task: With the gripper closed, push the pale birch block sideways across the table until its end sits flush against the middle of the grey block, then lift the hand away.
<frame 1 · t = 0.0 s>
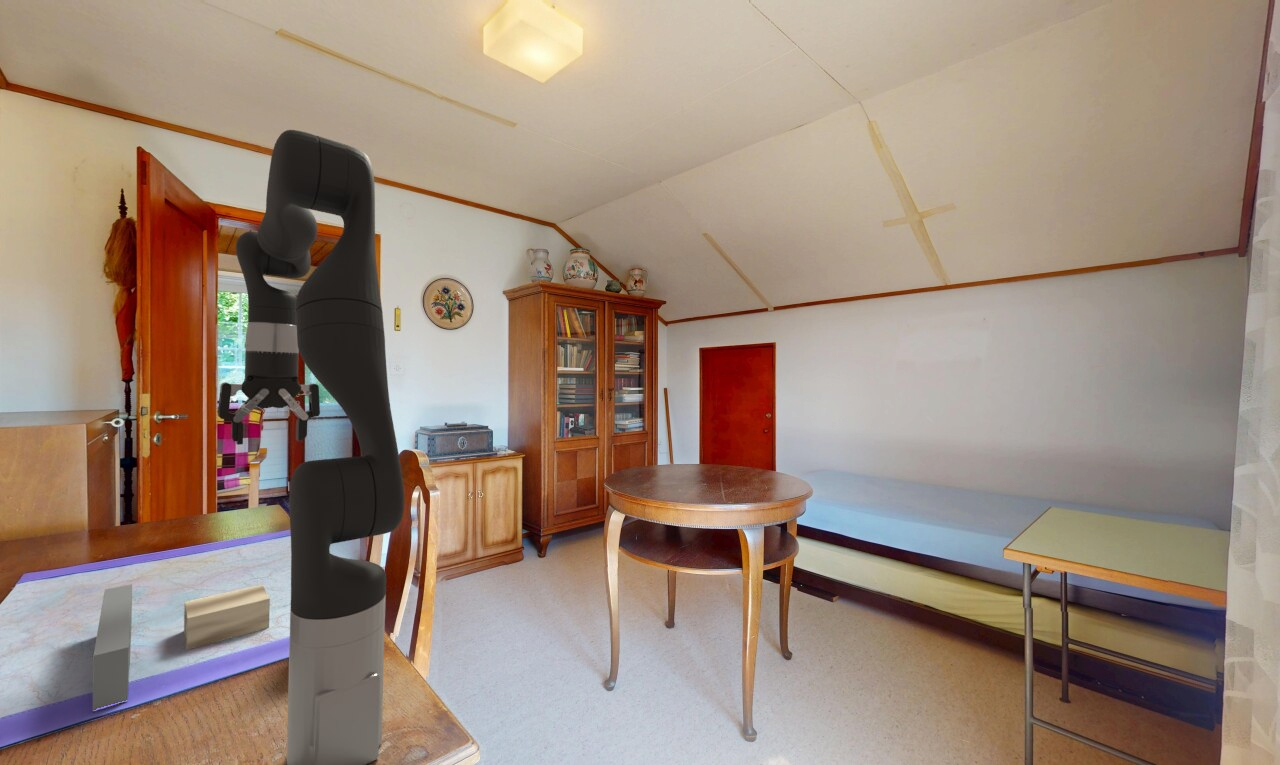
hand: (270, 442, 88), 29 cm above the table, tool pointing down, fingers open, 8 cm apart
birch block: (227, 630, 81), on the table
grey block: (114, 664, 71), on the table
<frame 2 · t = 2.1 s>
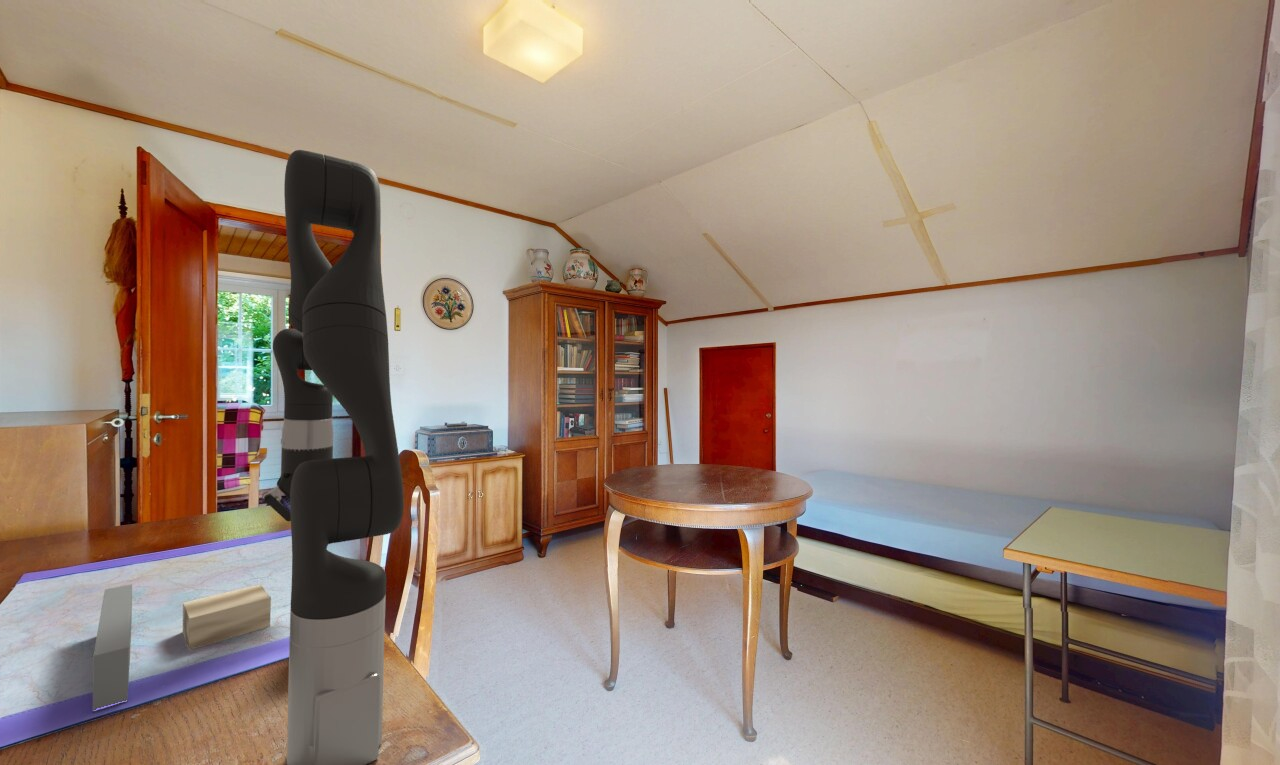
hand: (305, 541, 88), 12 cm above the table, tool pointing down, fingers closed
nothing on the table moved.
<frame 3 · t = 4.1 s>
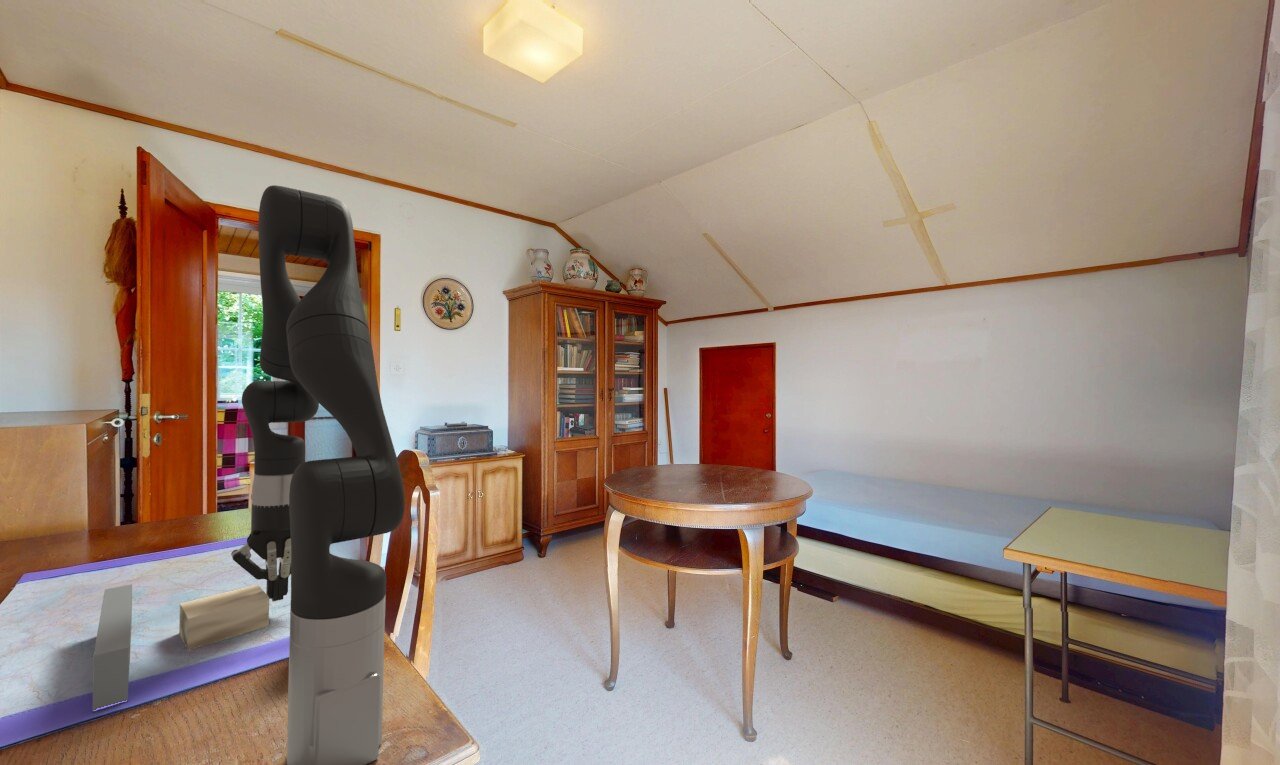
hand: (277, 598, 86), 3 cm above the table, tool pointing down, fingers closed
birch block: (224, 630, 81), on the table, touching gripper
everything else where it was.
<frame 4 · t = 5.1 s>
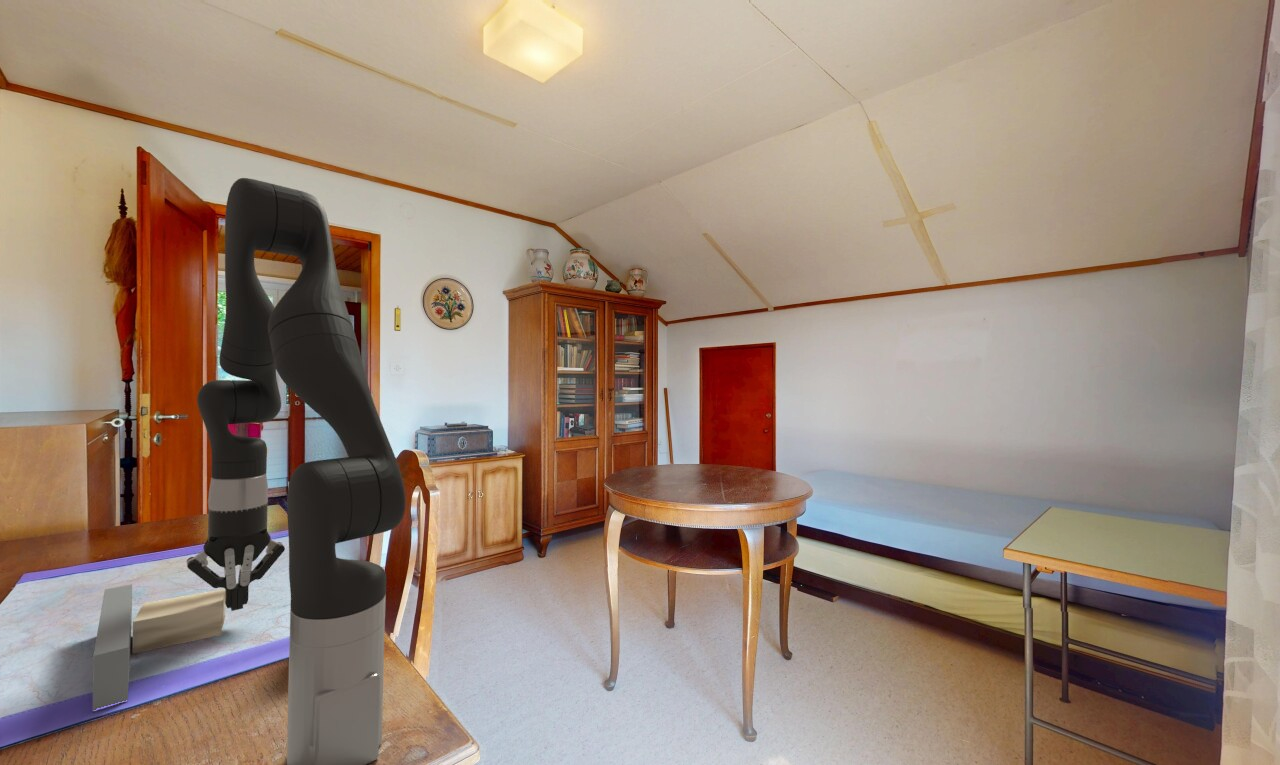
hand: (236, 607, 82), 3 cm above the table, tool pointing down, fingers closed
birch block: (182, 635, 79), on the table, touching gripper
everything else where it was.
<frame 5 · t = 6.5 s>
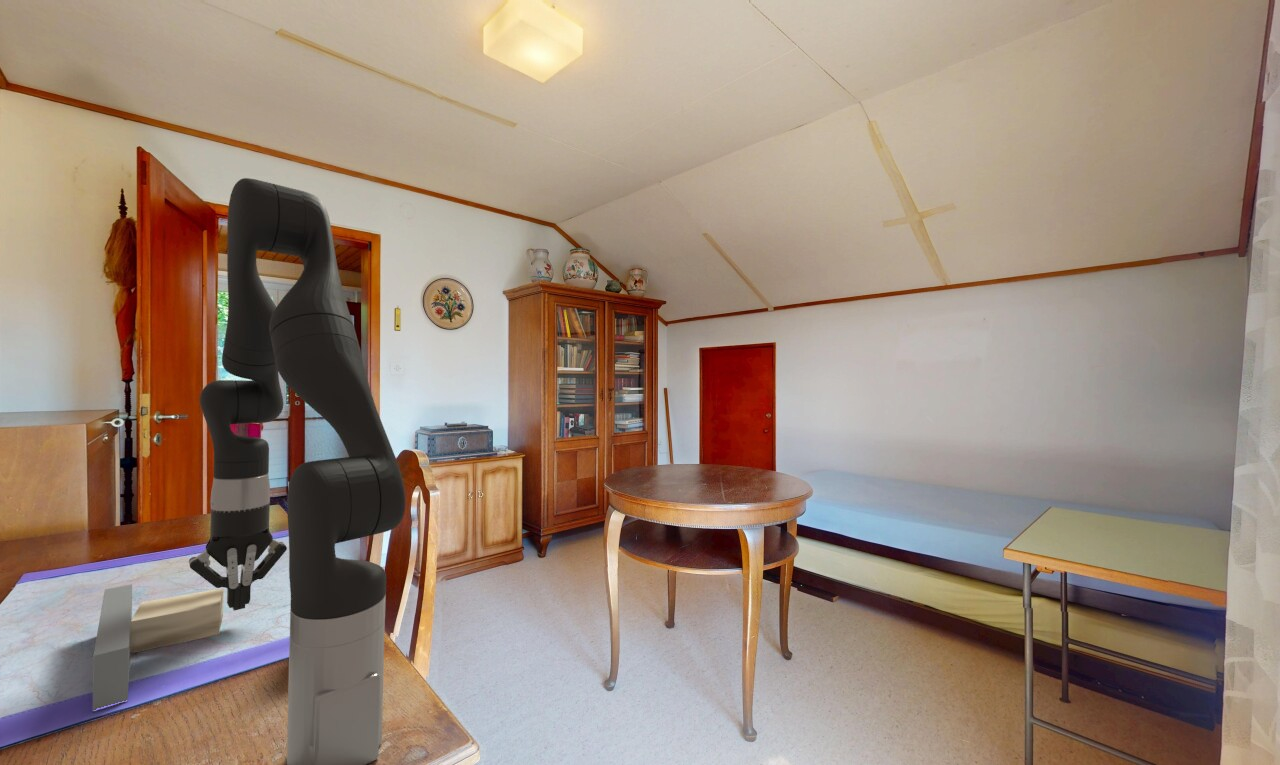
hand: (238, 607, 82), 3 cm above the table, tool pointing down, fingers closed
birch block: (180, 634, 79), on the table
everything else where it was.
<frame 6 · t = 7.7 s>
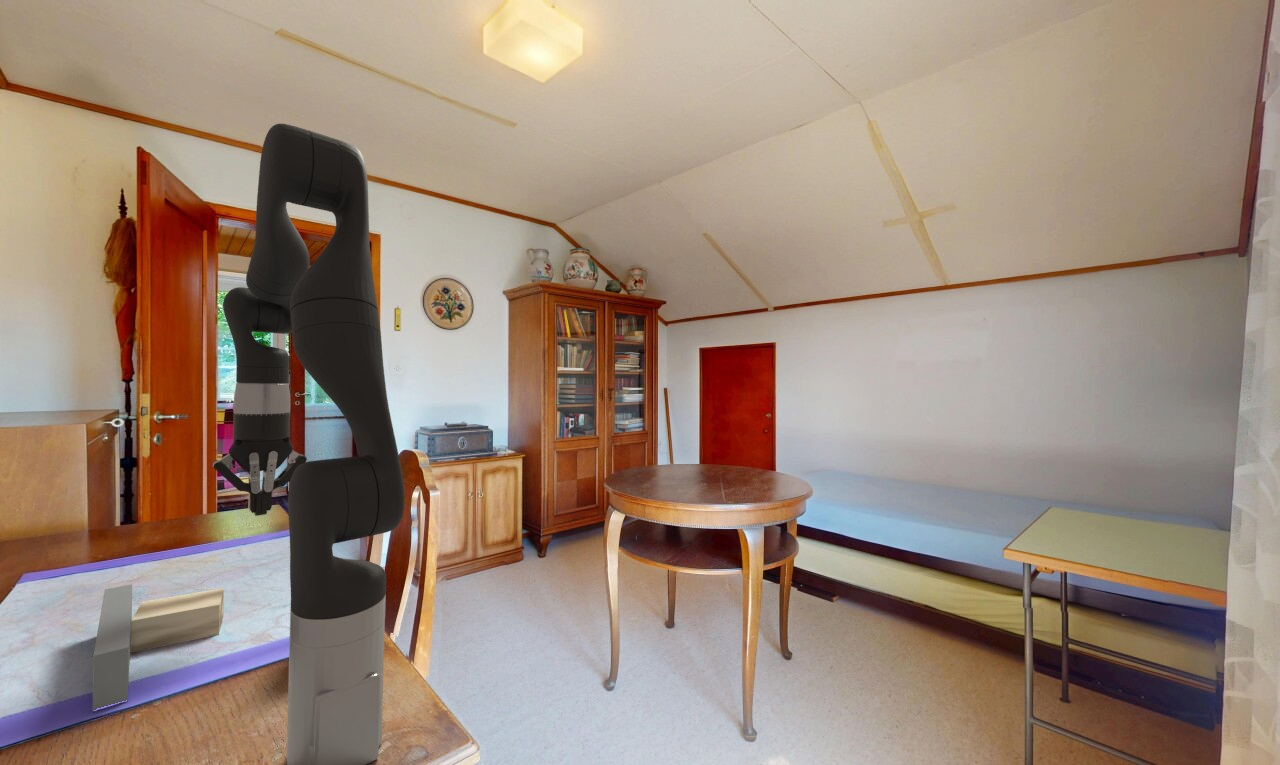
hand: (260, 514, 83), 18 cm above the table, tool pointing down, fingers closed
nothing on the table moved.
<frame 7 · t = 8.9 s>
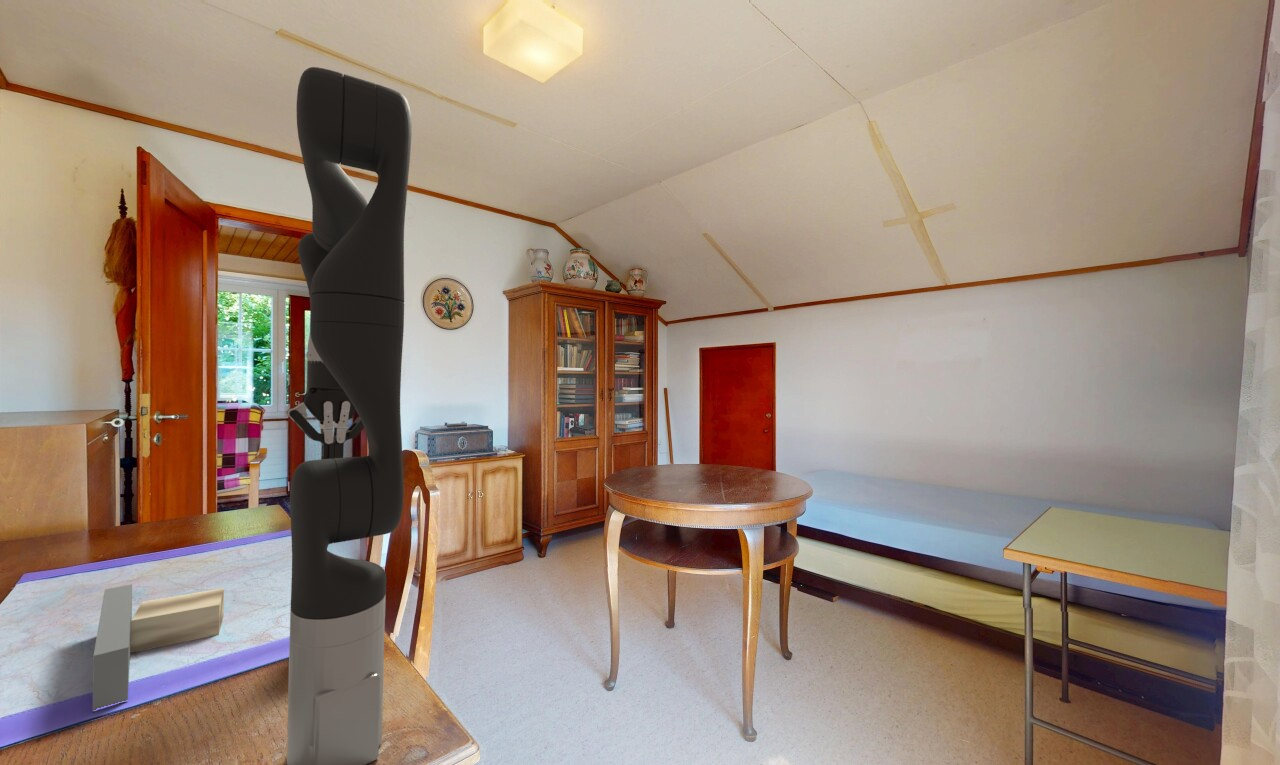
hand: (332, 465, 82), 27 cm above the table, tool pointing down, fingers closed
nothing on the table moved.
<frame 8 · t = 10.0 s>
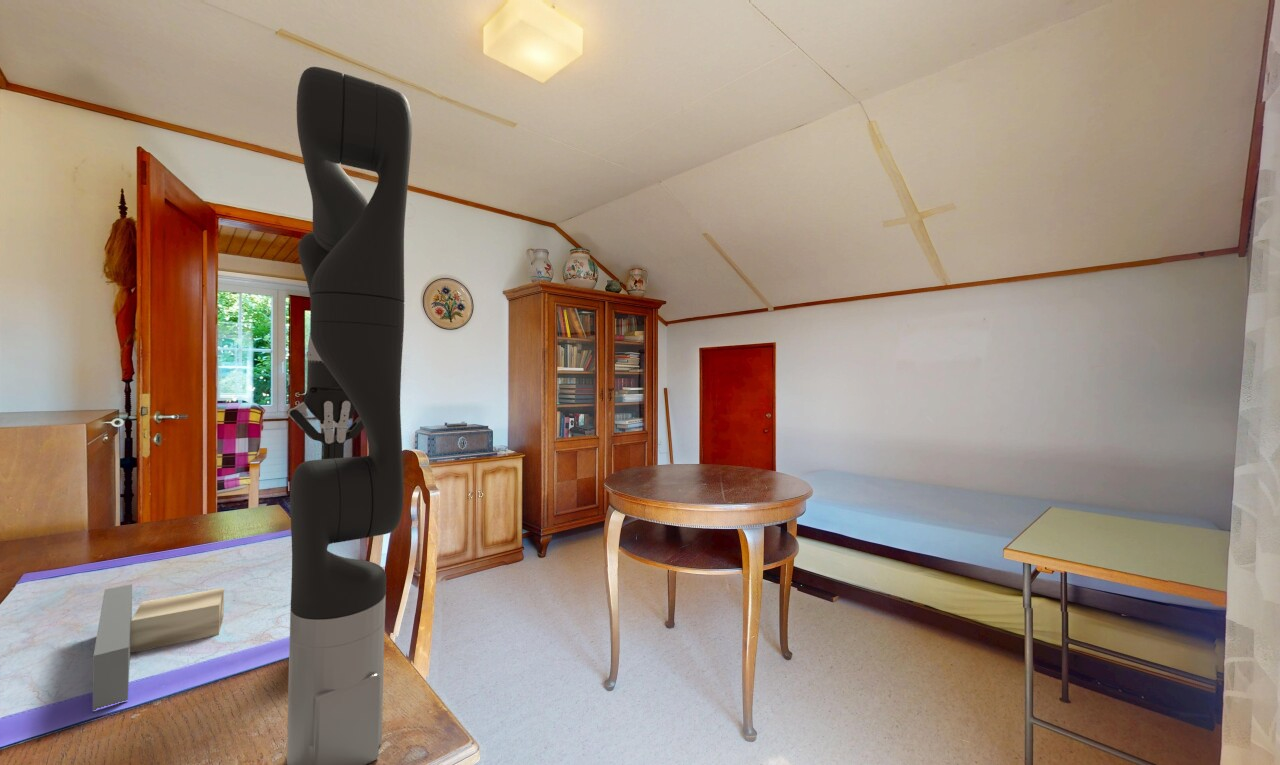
hand: (332, 465, 82), 27 cm above the table, tool pointing down, fingers closed
nothing on the table moved.
at the end: birch block inside the target area on the table beside the grey block (3.2 cm from its centre), on the table; birch block tilted 0° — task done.
